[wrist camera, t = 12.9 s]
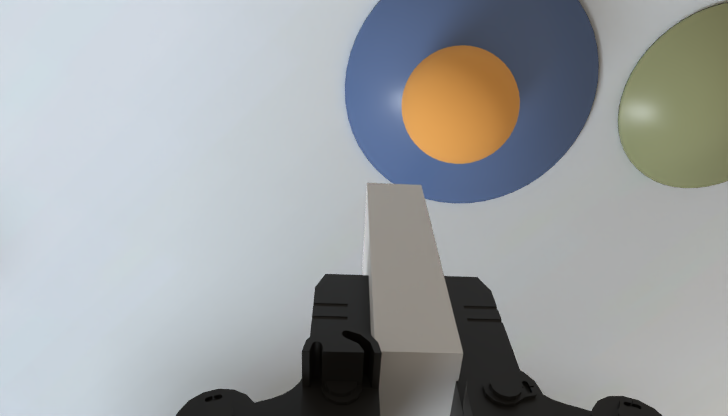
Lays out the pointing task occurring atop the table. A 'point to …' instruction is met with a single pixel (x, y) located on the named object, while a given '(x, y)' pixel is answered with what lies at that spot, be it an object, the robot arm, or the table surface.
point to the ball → (460, 104)
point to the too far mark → (680, 104)
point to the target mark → (512, 46)
